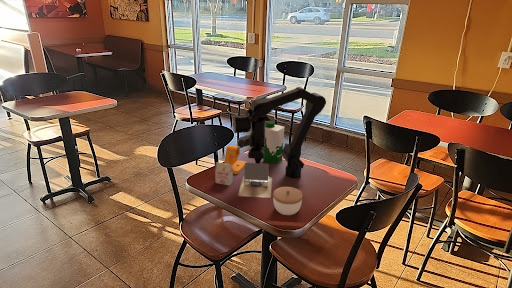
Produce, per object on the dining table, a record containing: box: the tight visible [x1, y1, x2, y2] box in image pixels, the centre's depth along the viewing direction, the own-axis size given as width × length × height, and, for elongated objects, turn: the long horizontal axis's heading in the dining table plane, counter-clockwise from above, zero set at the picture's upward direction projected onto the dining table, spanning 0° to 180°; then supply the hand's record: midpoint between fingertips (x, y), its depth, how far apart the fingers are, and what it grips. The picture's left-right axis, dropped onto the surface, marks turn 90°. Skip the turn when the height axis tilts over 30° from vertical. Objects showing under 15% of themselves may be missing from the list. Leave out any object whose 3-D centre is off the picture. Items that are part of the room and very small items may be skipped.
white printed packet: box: [214, 161, 234, 186], centre depth 139 cm, size 4×7×10 cm, turn 70°
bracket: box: [224, 144, 248, 175], centre depth 151 cm, size 11×7×12 cm, turn 160°
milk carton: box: [262, 120, 285, 164], centre depth 159 cm, size 9×9×20 cm
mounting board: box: [237, 175, 273, 199], centre depth 138 cm, size 13×17×1 cm
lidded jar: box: [272, 186, 303, 216], centre depth 120 cm, size 11×11×9 cm
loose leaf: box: [243, 162, 270, 186], centre depth 137 cm, size 10×10×2 cm
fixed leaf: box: [244, 175, 270, 187], centre depth 140 cm, size 10×10×2 cm
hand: (257, 165), depth 140 cm, fingers closed
